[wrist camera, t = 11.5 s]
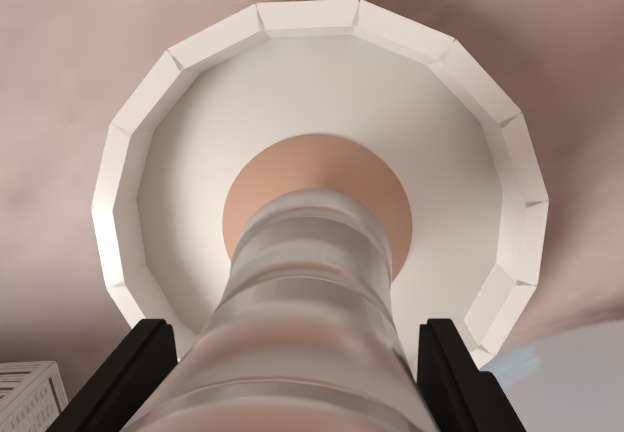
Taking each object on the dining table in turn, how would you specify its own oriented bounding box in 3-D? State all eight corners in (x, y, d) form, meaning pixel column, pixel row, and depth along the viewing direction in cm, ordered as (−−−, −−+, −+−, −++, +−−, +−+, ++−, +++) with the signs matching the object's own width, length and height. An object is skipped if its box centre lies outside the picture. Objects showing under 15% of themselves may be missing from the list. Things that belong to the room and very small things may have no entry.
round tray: (100, 25, 20) (54, 11, 17) (535, 7, 19) (578, -11, 16) (157, 383, 26) (131, 425, 23) (492, 385, 25) (517, 430, 22)
